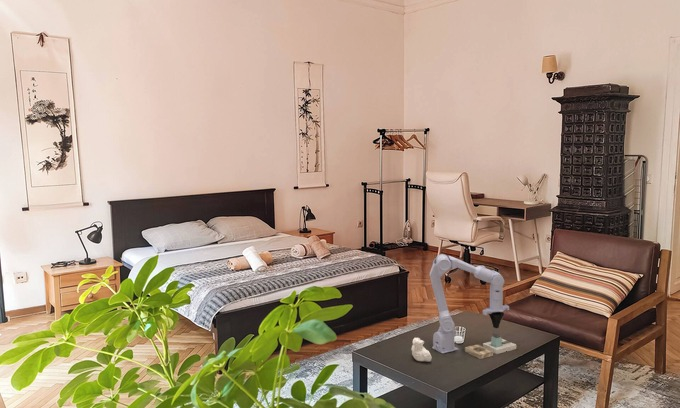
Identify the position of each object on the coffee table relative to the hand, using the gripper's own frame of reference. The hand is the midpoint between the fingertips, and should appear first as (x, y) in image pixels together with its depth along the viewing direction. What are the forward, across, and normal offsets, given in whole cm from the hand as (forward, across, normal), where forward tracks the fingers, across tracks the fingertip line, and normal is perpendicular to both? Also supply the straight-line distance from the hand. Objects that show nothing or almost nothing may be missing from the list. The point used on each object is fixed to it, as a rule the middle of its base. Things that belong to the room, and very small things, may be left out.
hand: (495, 327), depth 242 cm
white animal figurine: (+11, -37, +8) cm, 39 cm away
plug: (+10, 0, 0) cm, 10 cm away
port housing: (+10, +2, 0) cm, 11 cm away
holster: (+10, -10, 0) cm, 14 cm away
